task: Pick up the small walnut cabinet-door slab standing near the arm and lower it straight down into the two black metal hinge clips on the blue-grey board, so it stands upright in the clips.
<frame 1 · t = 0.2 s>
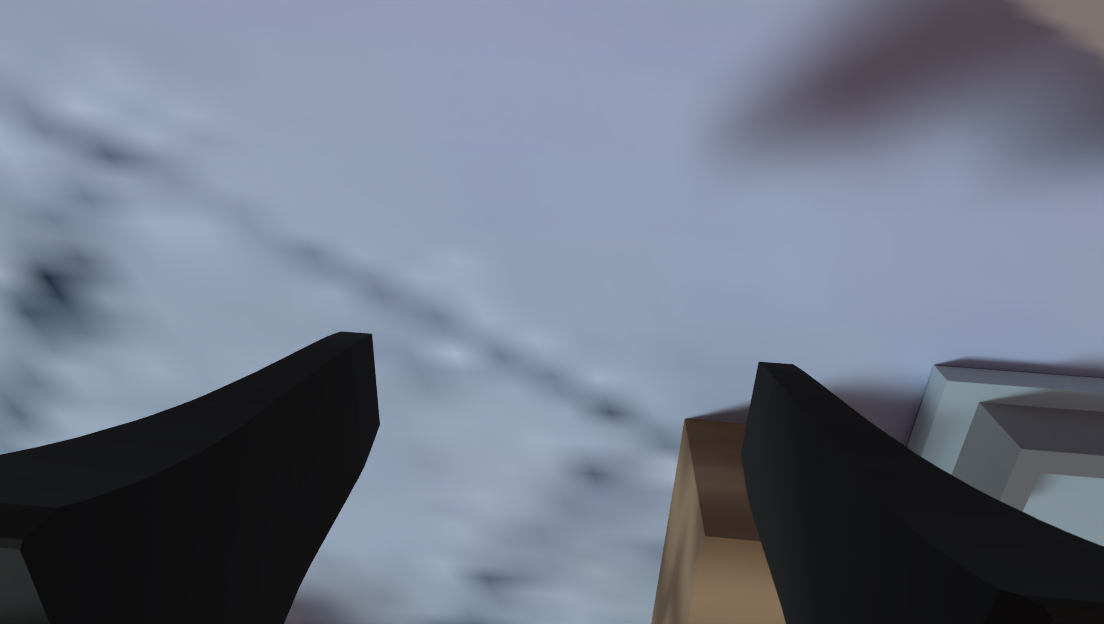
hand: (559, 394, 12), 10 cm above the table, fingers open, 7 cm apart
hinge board: (998, 575, 26), on the table
door: (714, 544, 27), on the table
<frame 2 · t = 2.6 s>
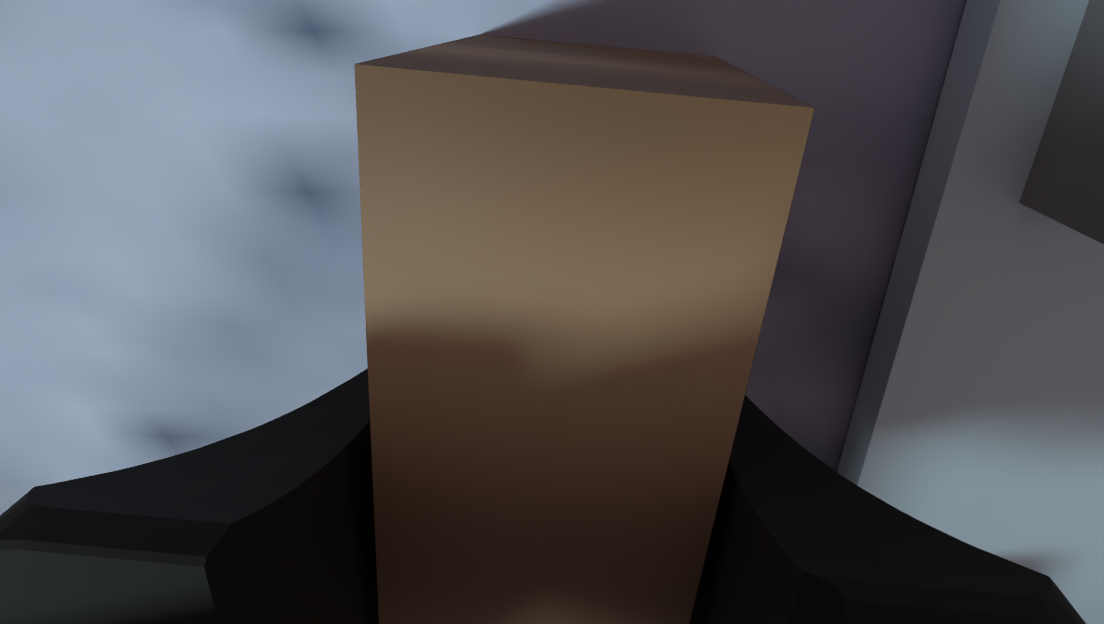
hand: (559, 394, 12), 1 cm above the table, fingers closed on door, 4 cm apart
door: (564, 356, 14), on the table, touching gripper
when the fingers open (4 cm above the table, at t = 6.7 s): door stays where it is, resting on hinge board.
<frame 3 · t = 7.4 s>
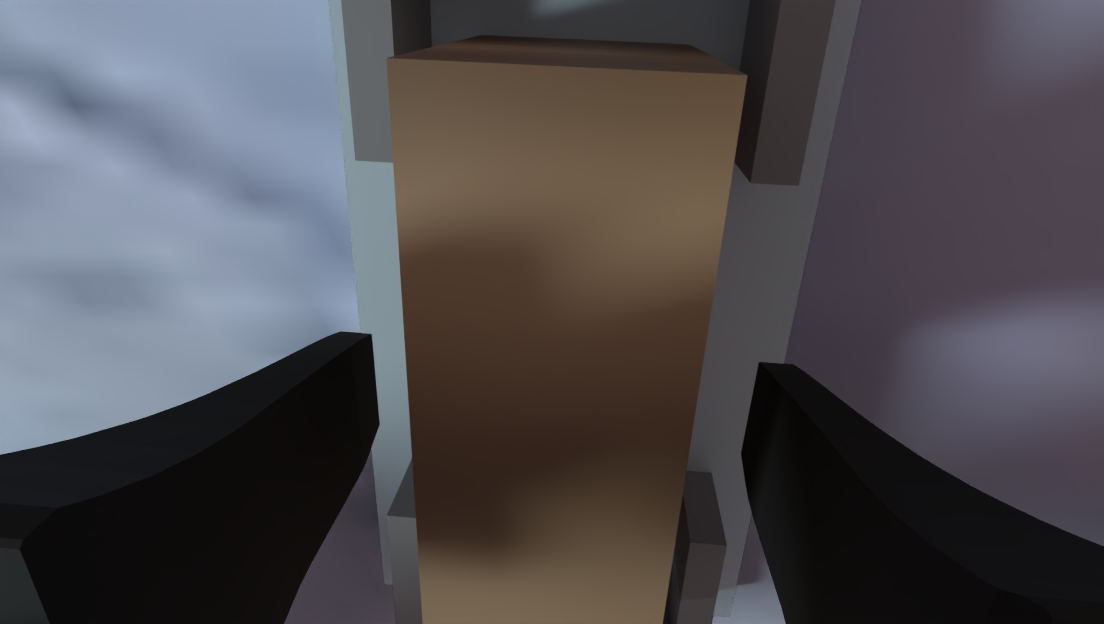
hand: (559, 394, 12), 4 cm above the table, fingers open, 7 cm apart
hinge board: (572, 302, 16), on the table
door: (569, 320, 15), point 1 cm above the table, touching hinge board
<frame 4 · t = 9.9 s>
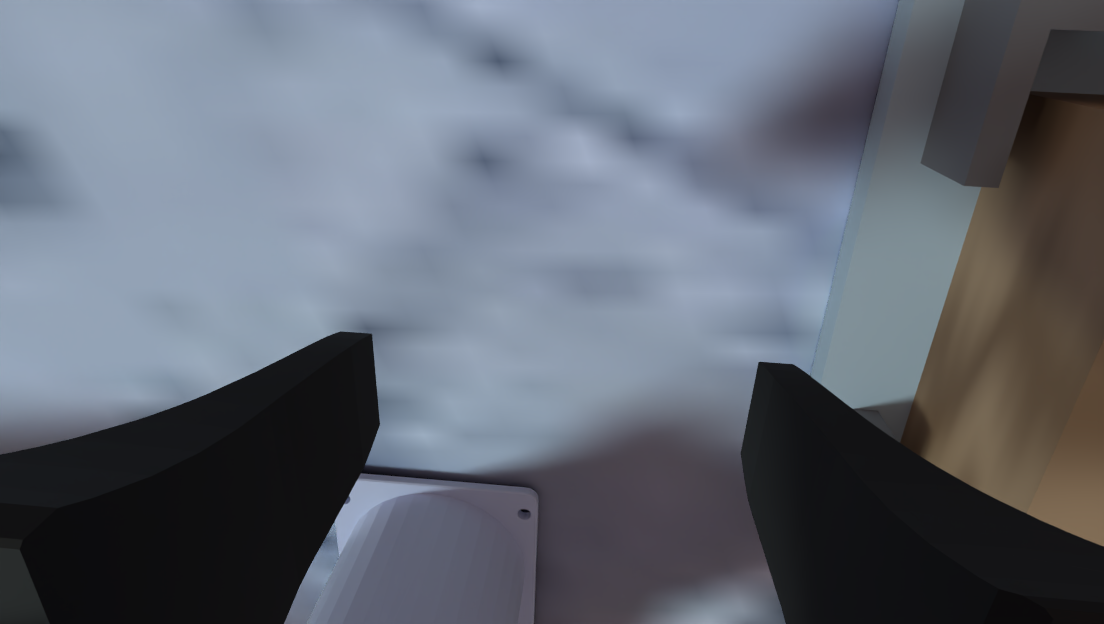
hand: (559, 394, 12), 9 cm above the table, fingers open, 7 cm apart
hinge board: (997, 292, 21), on the table
door: (1014, 305, 20), point 1 cm above the table, touching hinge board
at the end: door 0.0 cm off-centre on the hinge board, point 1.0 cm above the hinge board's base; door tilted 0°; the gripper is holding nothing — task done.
